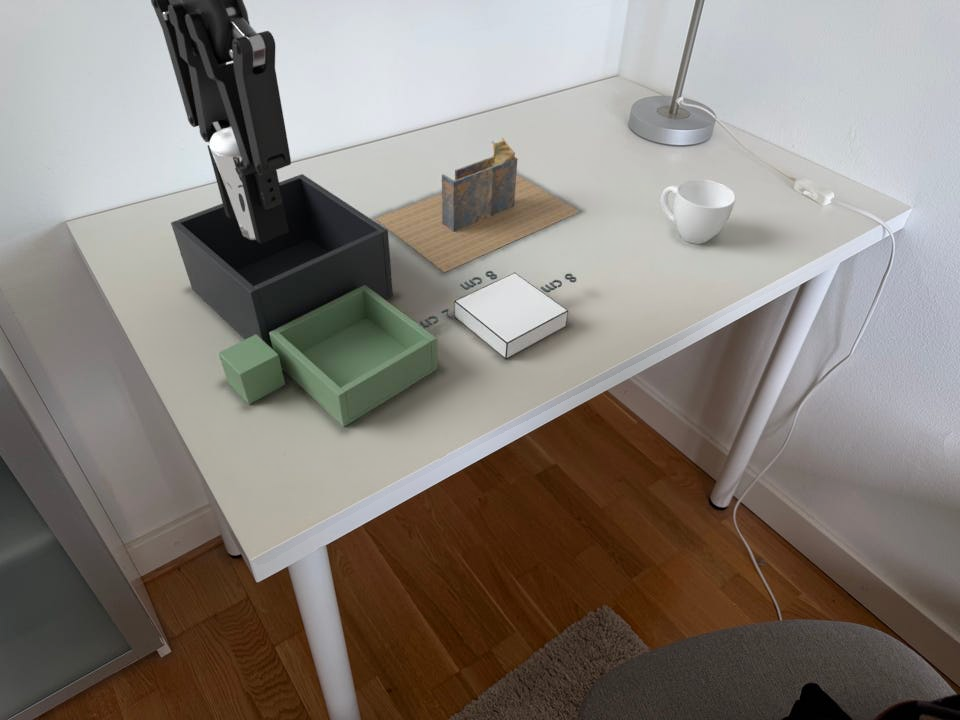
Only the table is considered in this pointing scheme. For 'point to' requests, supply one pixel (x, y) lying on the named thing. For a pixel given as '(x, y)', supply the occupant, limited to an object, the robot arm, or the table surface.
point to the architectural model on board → (476, 212)
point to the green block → (252, 368)
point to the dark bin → (284, 259)
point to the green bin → (354, 353)
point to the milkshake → (231, 175)
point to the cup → (698, 208)
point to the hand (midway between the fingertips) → (256, 223)
